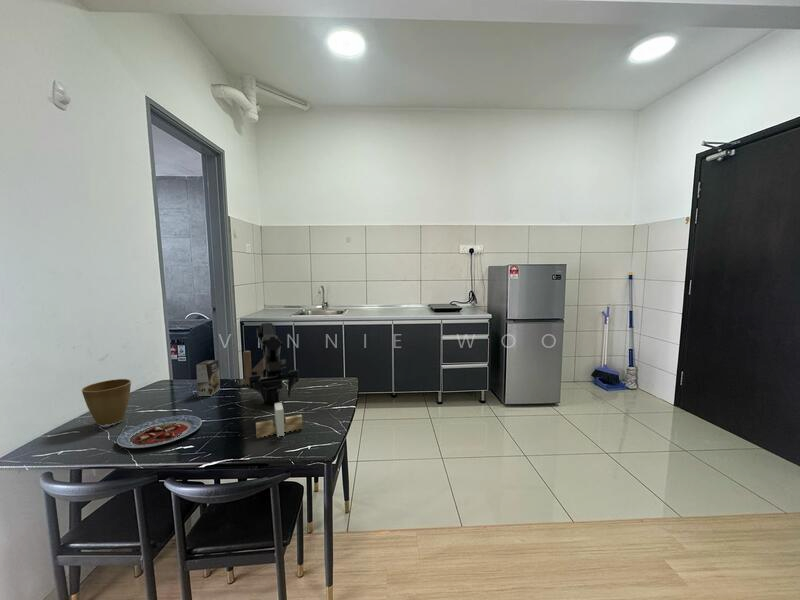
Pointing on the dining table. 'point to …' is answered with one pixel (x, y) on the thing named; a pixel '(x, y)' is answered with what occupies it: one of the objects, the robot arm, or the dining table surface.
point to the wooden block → (247, 367)
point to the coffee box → (208, 377)
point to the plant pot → (108, 400)
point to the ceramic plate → (160, 431)
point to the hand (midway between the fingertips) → (276, 398)
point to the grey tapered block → (279, 419)
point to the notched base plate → (268, 428)
